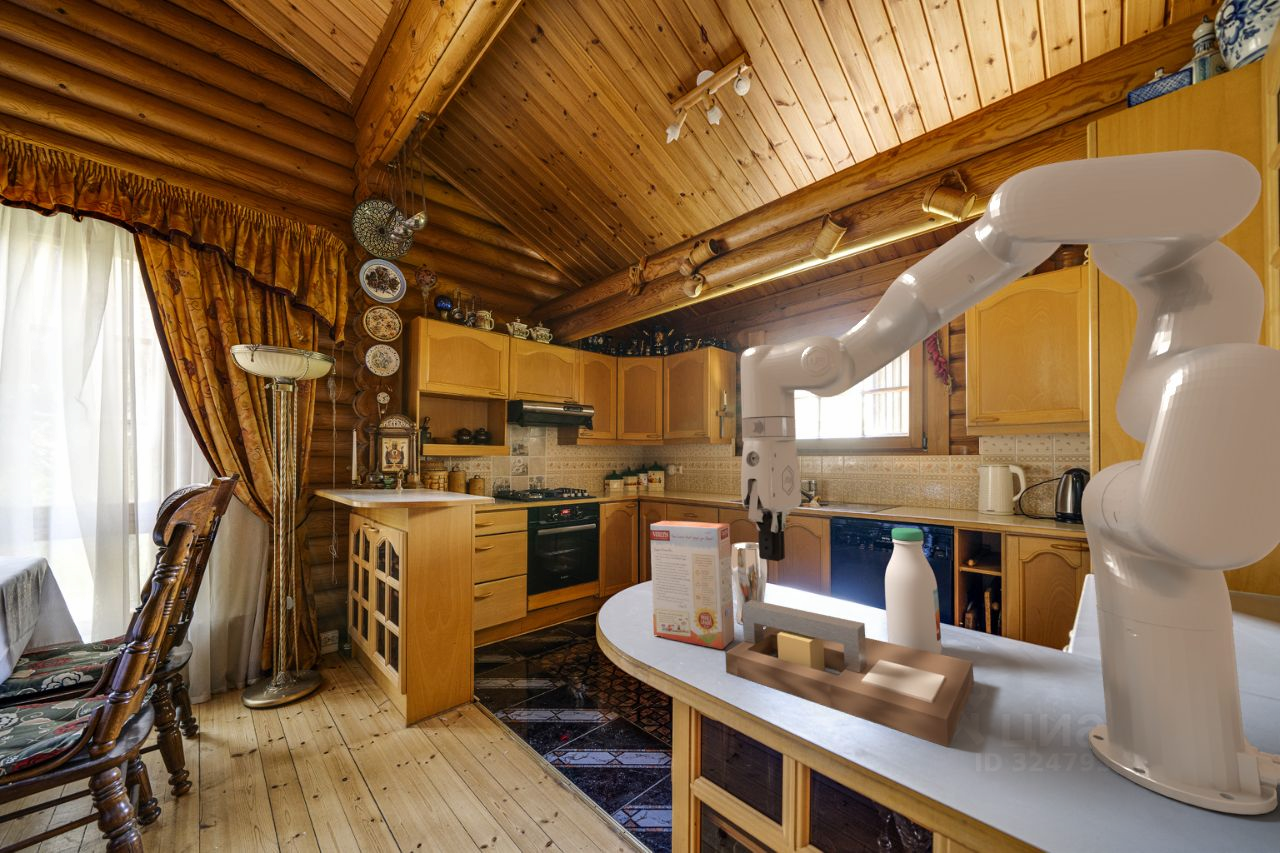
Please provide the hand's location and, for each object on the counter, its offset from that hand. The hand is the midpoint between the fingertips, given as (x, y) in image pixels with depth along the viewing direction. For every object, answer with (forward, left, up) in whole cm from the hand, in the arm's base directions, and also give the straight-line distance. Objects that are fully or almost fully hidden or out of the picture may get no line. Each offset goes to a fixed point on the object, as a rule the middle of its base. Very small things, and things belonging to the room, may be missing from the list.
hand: (771, 558), depth 68 cm
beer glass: (+17, -22, -19) cm, 33 cm away
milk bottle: (-11, -26, -19) cm, 34 cm away
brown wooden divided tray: (-6, -10, -18) cm, 22 cm away
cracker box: (+21, -8, -19) cm, 29 cm away
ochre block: (0, -7, -18) cm, 20 cm away
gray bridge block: (0, -7, -15) cm, 17 cm away
